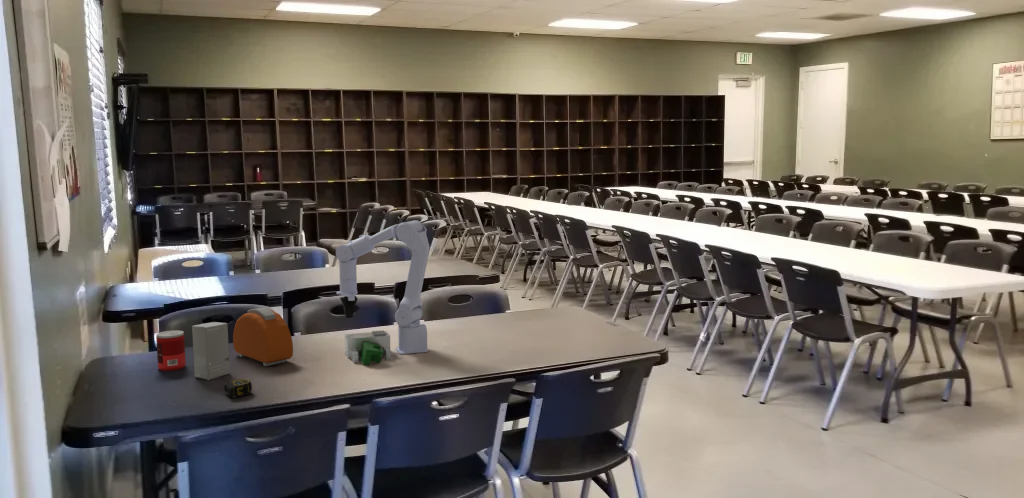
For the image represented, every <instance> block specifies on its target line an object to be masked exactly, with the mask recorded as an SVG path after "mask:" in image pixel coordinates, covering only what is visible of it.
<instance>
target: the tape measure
mask: <svg viewBox="0 0 1024 498" xmlns="http://www.w3.org/2000/svg"><path fill="white" fill-rule="evenodd" d="M252 384H253V383H252V381H251V380H249V379H246V378H238V379H234V380H231V381H228V382H225V383H223V390H224V392H225V393H226V394H228V395H229V396H230V397H231V398H235V397H243V396H245V395H246V396H247V395H248V394H250V393H252V390H253V385H252Z"/></svg>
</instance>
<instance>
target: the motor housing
mask: <svg viewBox="0 0 1024 498" xmlns="http://www.w3.org/2000/svg"><path fill="white" fill-rule="evenodd" d="M363 341H364V342H369V343H375V344H379V345H381V349H380V350H383V351H384V352H383V355H382V356H383V357H384V359H385V360H386V361H389V360H392V350H391V335H390V333H389V332H387V330H371V331H370V332H359V333H357V332H356V333H347V334H344V354H345V356H346V358H347V359H351V360H352V363H353V364H355V363H359V358H360V354H361V349H362V345H363Z"/></svg>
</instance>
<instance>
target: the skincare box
mask: <svg viewBox="0 0 1024 498" xmlns="http://www.w3.org/2000/svg"><path fill="white" fill-rule="evenodd" d="M228 327H229V326H228V323H227V322H217V321H211V322H205V323H201V324H195V325H192V326H191V332H192V334H191V335H192V348H193V349H192V351H193V352H192V353H193V369H194V377H195V378H198V379H202V380H203V379H204V380H208V381H210V379H211V380H214V379H217V378H221V377H222V376H226V375H229V374H230V373H231V370H230V369H231V367H230V351H229V350H230V349H229V348H230V347H229V332H228V329H229V328H228Z"/></svg>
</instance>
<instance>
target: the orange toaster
mask: <svg viewBox="0 0 1024 498" xmlns="http://www.w3.org/2000/svg"><path fill="white" fill-rule="evenodd" d="M232 333H233V334H232V342H233V349H234V351H235V352H236V353H237V354H238V355H239V357H240V358H242V357H243V358H244V357H247V358H250V359H253V360H255V361H258V362H261V363H262V364H263V366H264V367H267V366H272V365H277V364H280V363H281V362H282V363H286V362H287V361H288V360H290V359H291V358H292V357H293V356H294V355H293V354H294V344H293V338H292V335H291V332H290V329H289V325H288V323H287V322H286V321H285V319H284V318H283V317H282V315H281V314H279V313H278V312H276V311H273V310H271V309H269V308H267V307H258V308H251V309H248V310H247V313H243V314H242V315H241V316H239V317H238V319H237V320H236V323H235V325H234V327H233V332H232ZM285 361H286V362H285ZM276 363H277V364H276ZM282 363H281V364H282Z"/></svg>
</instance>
